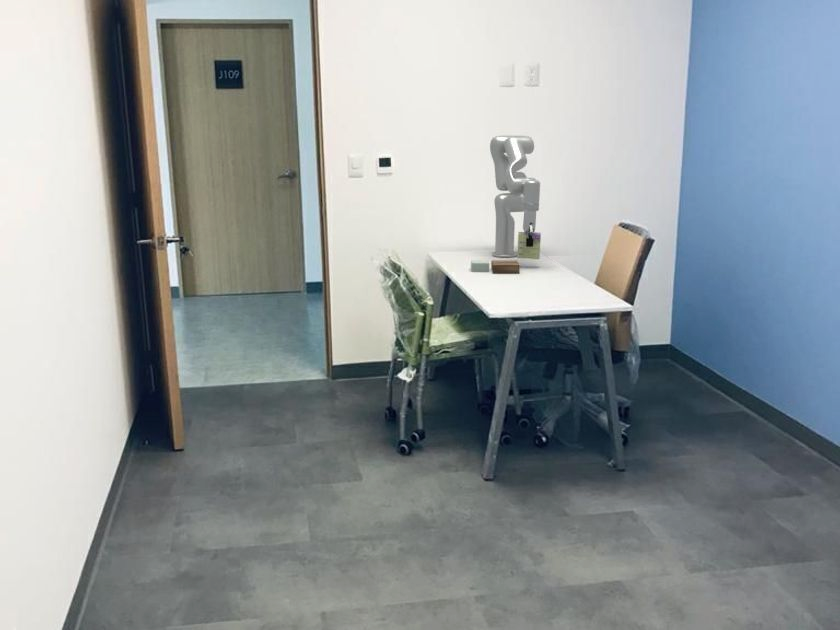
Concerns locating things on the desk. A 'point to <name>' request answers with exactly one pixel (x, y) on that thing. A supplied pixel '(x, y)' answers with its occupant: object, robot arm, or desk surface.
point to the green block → (479, 266)
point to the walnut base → (505, 267)
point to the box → (528, 251)
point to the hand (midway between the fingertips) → (528, 244)
